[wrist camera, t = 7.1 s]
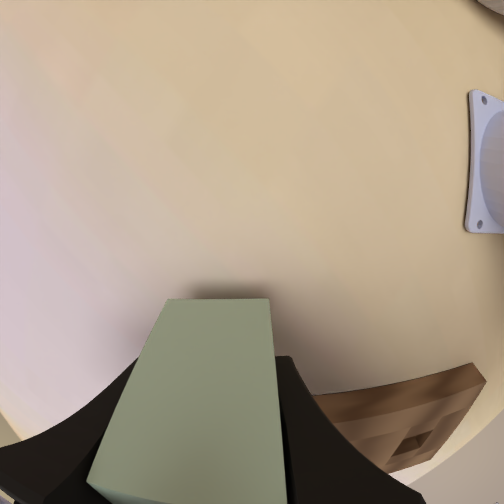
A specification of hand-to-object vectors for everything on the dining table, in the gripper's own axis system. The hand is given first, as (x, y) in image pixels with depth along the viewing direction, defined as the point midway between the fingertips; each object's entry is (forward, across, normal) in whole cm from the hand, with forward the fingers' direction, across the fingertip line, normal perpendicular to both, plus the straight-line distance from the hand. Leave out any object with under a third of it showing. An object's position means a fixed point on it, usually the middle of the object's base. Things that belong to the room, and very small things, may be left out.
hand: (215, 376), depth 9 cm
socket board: (+5, -8, +13) cm, 16 cm away
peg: (+2, 0, 0) cm, 2 cm away
